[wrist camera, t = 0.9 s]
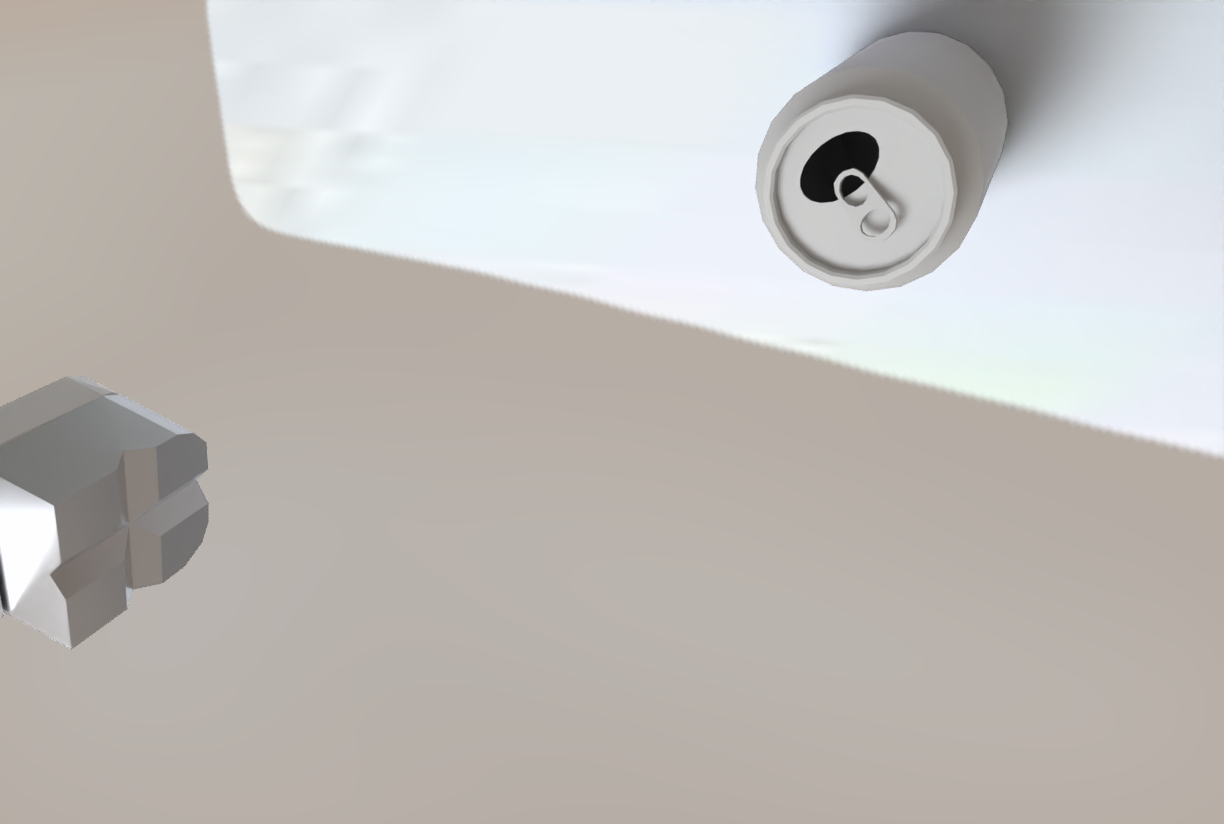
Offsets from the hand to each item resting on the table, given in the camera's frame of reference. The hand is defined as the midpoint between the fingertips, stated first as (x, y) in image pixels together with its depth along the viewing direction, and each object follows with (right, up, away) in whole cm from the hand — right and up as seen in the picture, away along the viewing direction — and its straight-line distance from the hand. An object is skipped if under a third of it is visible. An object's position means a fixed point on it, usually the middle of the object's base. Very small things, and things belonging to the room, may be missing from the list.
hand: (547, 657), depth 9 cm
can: (+13, +14, +32) cm, 38 cm away
